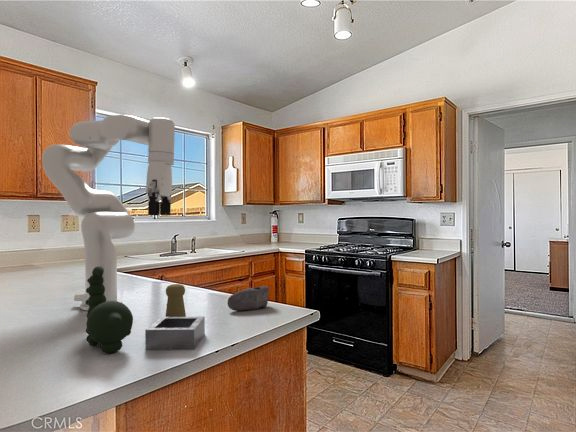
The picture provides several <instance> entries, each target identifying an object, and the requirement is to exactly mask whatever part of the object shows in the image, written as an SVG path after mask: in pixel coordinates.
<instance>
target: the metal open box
mask: <svg viewBox="0 0 576 432" xmlns="http://www.w3.org/2000/svg"><path fill="white" fill-rule="evenodd" d="M205 320H206V318H205V316H186V317H165V316H160V317H159V318H158V319H157V320H156V321H154V322H153V323H152V324H151V325H150V326H148V327H147V328H146V329H145V332H144V333H145V334H144V335H145V336H144V337H145V338H144V340H145V344H144V345H145V350H146V351H150V350H151V351H152V350H153V351H159V350H164V351H165V350H166V351H167V350H168V351H169V350H170V351H171V350H172V351H173V350H174V351H175V350H176V351H178V350H181V351H182V350H195V349H196V348H197V346H198V345H199V343H200V342H201V340H202V339H203V338H204V335H205V334H206V333H205V332H206V331H205V327H206V325H205V323H206V322H205Z"/></svg>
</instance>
